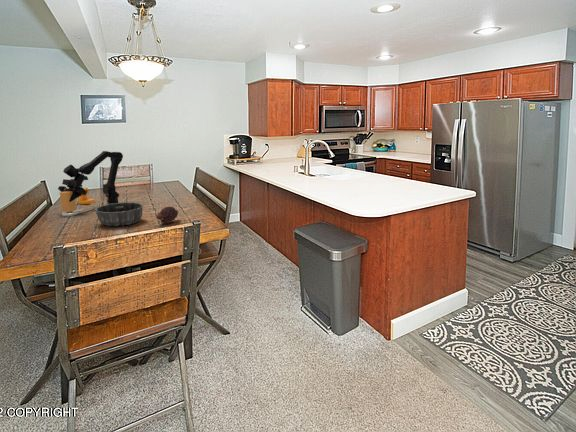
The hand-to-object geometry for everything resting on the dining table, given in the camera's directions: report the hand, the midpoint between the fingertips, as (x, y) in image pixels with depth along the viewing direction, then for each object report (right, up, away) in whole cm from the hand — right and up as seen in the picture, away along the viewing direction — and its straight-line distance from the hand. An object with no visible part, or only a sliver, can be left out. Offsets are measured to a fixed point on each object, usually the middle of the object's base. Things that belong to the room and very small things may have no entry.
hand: (66, 201), depth 244 cm
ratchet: (+2, -7, +9) cm, 12 cm away
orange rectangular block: (+1, -6, +3) cm, 7 cm away
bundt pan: (+43, -14, -17) cm, 49 cm away
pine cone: (+72, -14, -18) cm, 76 cm away
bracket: (-7, 0, +39) cm, 40 cm away
